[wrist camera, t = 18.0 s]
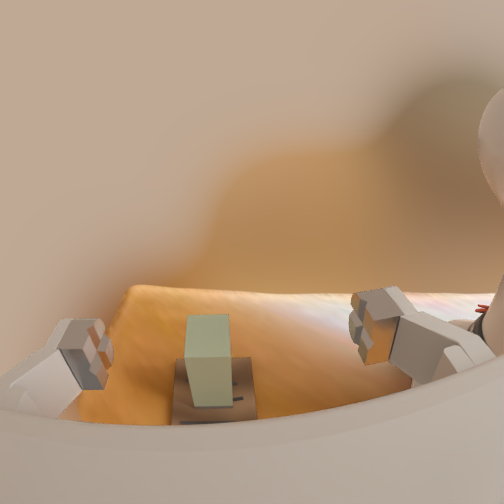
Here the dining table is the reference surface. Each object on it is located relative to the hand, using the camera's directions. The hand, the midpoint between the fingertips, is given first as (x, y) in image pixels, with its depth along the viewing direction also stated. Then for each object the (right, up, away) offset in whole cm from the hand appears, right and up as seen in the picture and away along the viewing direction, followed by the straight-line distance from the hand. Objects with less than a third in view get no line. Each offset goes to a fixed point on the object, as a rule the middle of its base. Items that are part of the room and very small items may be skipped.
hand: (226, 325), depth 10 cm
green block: (-4, -15, +27) cm, 31 cm away
